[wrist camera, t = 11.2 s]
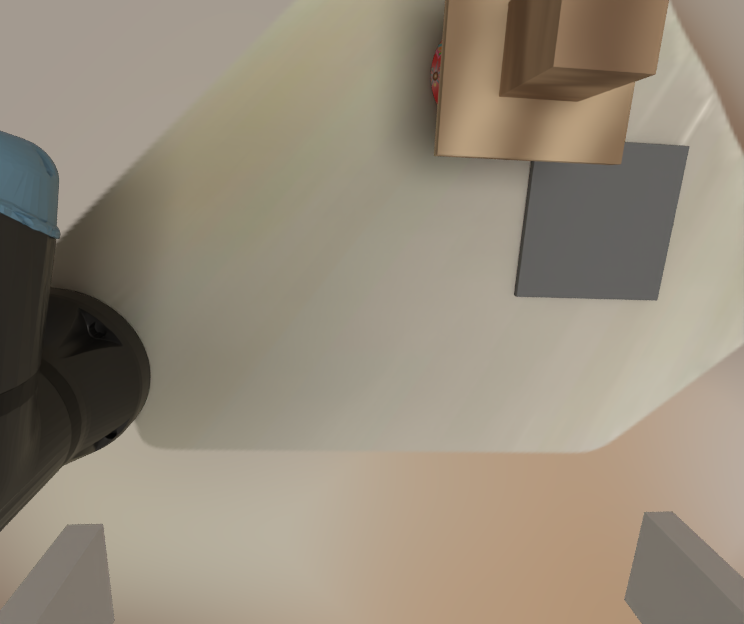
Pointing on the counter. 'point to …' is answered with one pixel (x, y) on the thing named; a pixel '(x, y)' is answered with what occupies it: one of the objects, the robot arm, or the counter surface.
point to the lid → (543, 77)
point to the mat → (600, 225)
